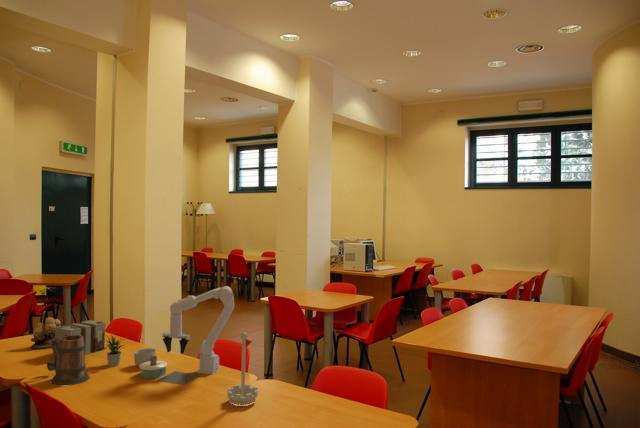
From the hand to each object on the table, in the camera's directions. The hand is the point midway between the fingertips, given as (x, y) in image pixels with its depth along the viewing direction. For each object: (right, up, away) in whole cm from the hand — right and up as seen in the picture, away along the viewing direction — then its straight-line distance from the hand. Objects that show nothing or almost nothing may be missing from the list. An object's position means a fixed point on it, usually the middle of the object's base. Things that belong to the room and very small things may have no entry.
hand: (175, 352), depth 248 cm
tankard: (-49, -9, -13) cm, 51 cm away
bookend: (-62, -8, +28) cm, 69 cm away
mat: (+4, -10, -9) cm, 14 cm away
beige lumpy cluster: (-86, -8, +40) cm, 95 cm away
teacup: (-18, -10, +10) cm, 23 cm away
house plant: (-36, -9, +9) cm, 38 cm away
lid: (-9, -5, -5) cm, 12 cm away
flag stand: (+39, -11, -36) cm, 55 cm away
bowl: (-9, -10, -5) cm, 14 cm away
